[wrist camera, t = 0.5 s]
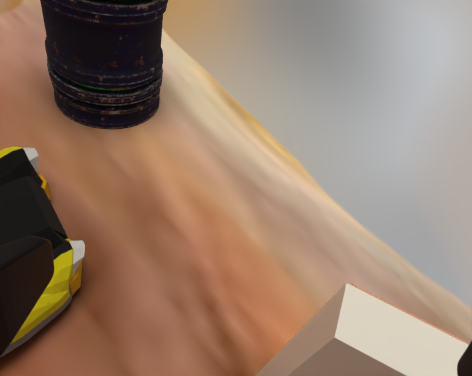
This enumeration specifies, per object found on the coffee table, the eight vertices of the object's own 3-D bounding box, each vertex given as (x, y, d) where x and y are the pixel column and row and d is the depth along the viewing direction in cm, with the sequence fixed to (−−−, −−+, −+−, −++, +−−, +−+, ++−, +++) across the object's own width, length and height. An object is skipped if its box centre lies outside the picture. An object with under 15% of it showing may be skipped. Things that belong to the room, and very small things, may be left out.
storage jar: (179, 112, 35) (202, -61, 24) (85, 143, 29) (60, -65, 19) (127, 62, 39) (126, -106, 28) (35, 81, 33) (-10, -121, 22)
